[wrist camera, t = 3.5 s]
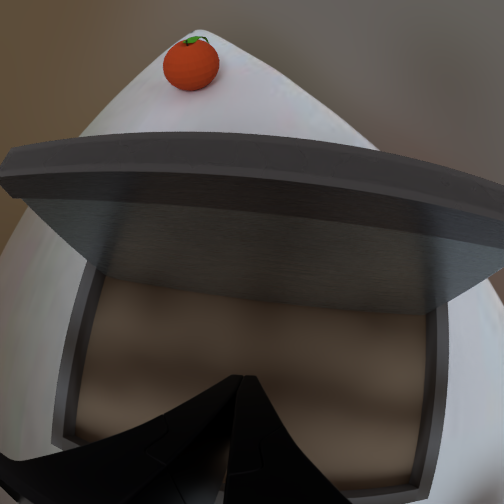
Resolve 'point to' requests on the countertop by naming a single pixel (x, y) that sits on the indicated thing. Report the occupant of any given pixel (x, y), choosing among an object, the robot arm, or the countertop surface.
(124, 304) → the tray
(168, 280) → the panel
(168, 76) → the clementine
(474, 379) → the countertop surface
